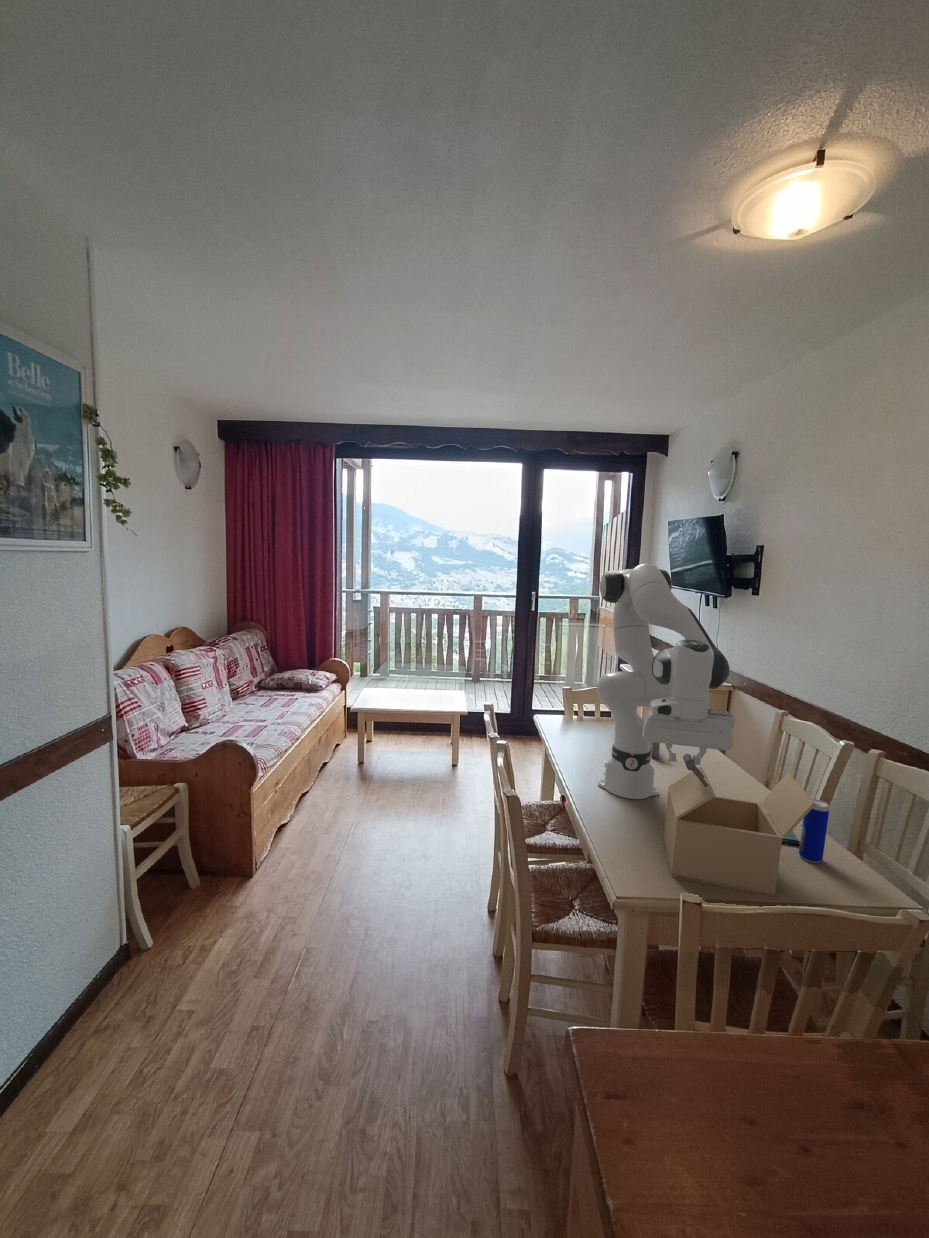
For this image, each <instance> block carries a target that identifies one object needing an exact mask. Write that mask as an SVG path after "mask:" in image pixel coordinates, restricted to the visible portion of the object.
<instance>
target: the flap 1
mask: <svg viewBox="0 0 929 1238" xmlns="http://www.w3.org/2000/svg"><path fill="white" fill-rule="evenodd" d="M682 759H683V762H684V763H685V767H686V769H687V770H688V771H689V772H690V771H691V772H690V773H688V774H687V775H685V776H684V777H682V778H680V779H679V780H677V781H676V782H674V783H672V784H670V785H669V786H667V791H668V790H669V794H670V797H671V801H672V804H673V808H674V811H675V815H676V818H677V819H679V818H680V817H682V816H684V815H686V814H687V813H689V812H691V811H692V810H694V809H696V808H697V807H699V806H701V805H702V804H704V803H706V802H707V801H709V800H711V799H712V798H714V797H716V794H715V791H714V790H713V787H712V784H710V781H709V779H708V777H707V774H706V772H705V770H704V768H703V767H702V766H699V767H697V765H695V764H694V761H693V756H692V755H690V754H689V753H685V754H683V756H682Z"/></svg>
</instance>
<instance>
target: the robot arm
mask: <svg viewBox="0 0 929 1238" xmlns="http://www.w3.org/2000/svg"><path fill="white" fill-rule="evenodd" d="M672 584H673V583H672V577H671V576H670V573H668V571H667V570H664V569H660V568H658V566H656V565H655V564H652V563H642V564H638V565H636V566H635V567H634V568H626V569H619V570H617V569H610V570H609V571H605V572H604V574H603V575H602V576H601V579H600V581H599V591H600V594H601V595H600V596H601V598H602V599H603V601H605V602H607V603H609V604H615V605H614V607H613V608H614V609H613V617H612V619H613V620H612V621H613V622H612V623H613V624H612V626H613V636H614V637H613V639H614V648H615V653H616V655H617V656H618V657H619V659H621V660H622V661H624V662H626V663H627V664H628V665H629V666H630V668H631V669H632V671H612V672H608V673H607V672H606V673H603V674H601V676H600V677H599V678H598V681H597V684H596V694H597V696H598V698H599V700H600V702H602V703H603V705H605V706H606V707H607V708H608V709H609V711H610V713H611V715H612V717H613V721H614V739H613V740H614V741H613V744H612V747H611V757H610V759H608V760H605V761H604V768H605V770H604V772H603V774H602V775H601V777H600V779H599V780H598V784H597V786H598V787H600V788H603V789H604V790H606V791H608V792H610V793H611V794H612V795H615V796H618V797H621V798H624V799H625V798H626V799H629V800H644V799H648V798H649V797H652V796H653V797H654V796H659V795H660V794H659V793H660V791H659V789H658V788H657V786H656V785H655V784H654V781H655V768H654V767H653V765H652V764H651V759H652V758H651V750H650V742H656V743H660V744H664V745H665V748H666V750H667V752H668V761H669V762H671V763H672V762H674V763H676V762H677V754H676V752H672V750H671V749H672V748H673V745H675V746H682V747H683V746H684V747H693V748H698V750H699V752H698V753H697V754H696V755H692V759H693V761H694V764H695V765H696V766H700V765H701V762H702V761H701V760H702V759H703V757H704V756H705V755H706V754H707V750H708V749H710V750H717V751H718V750H719V751H730V750H731V749H732V747H733V731H732V730H733V729H734V727H735V723H736V722H735V721H736V719H735V716H734V715H733V714H732V713H730V712H729V711H727V710H715V709H710V701H711V700H710V699H711V697H710V696H711V695H710V692H709V691H710V690H716V689H718V688H719V687H721V686H722V685H723V684H724V683H726V681H727V679H728V678H729V676H730V664H729V662H728V660H727V657H726V656H725V655H724V654H723V652H721V651H720V649H719V648H718V647H717V646H716V645H715V644H714V642H713V641H712V639H711V637H710V636H709V634H708V633H707V630H706V629H705V628H704V626H703V625H702V623H701V621H700V620H699V619H698V617H697V616H696V614H695V613H694V612H693V610H692V609H691V608H689V607H688V606H687V605H685V604H683V603H682V602H681V601H680V600H679V599H678V598H677V597H676V596H675V595H674V593H673V592H672ZM649 625H653V626H657V627H660V628H664V629H668V630H671V631H673V632H676V633H677V634H679V635H680V636H681V637H683V638H684V639H682V640H679V641H677V642H676V644H675V646H673V647H671V648H665V649H661V650H659V651H658V652H656V654H655V655H654V651H653V648H652V641H651V636H650V635H651V634H650V627H649ZM638 707H644V708H645V707H649V709H650V710H648V712H646V714H645V718H643V717H642V716H640V715H638Z"/></svg>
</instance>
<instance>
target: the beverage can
mask: <svg viewBox="0 0 929 1238" xmlns="http://www.w3.org/2000/svg"><path fill="white" fill-rule="evenodd" d="M812 800H813V801H814V802H815V803H816V805H815V806H814V807H813V808H812V809H811V810H810V811H809V813H808V814H807V815H806V816H805V817H804V818H803V819H802V826H801V834H800V840H799V841H800V846H798V847H799V848H798V849H799V850H798V854H799V857H800V858H801V859H802V860H803V861H806V862H808V863H812V864H819V863H821V862H823V858H824V852H825V844H826V837H827V829H828V822H829V815H830V806H829V804H828V803H827V802H825V801H823V800H820V799H817V798H812Z"/></svg>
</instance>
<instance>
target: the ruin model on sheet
mask: <svg viewBox="0 0 929 1238" xmlns="http://www.w3.org/2000/svg"><path fill="white" fill-rule="evenodd" d="M660 746H661V743H656V742H650V750H651V759H652V760H653V759H655V760H658V759H660V757H659V756H660Z"/></svg>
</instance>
